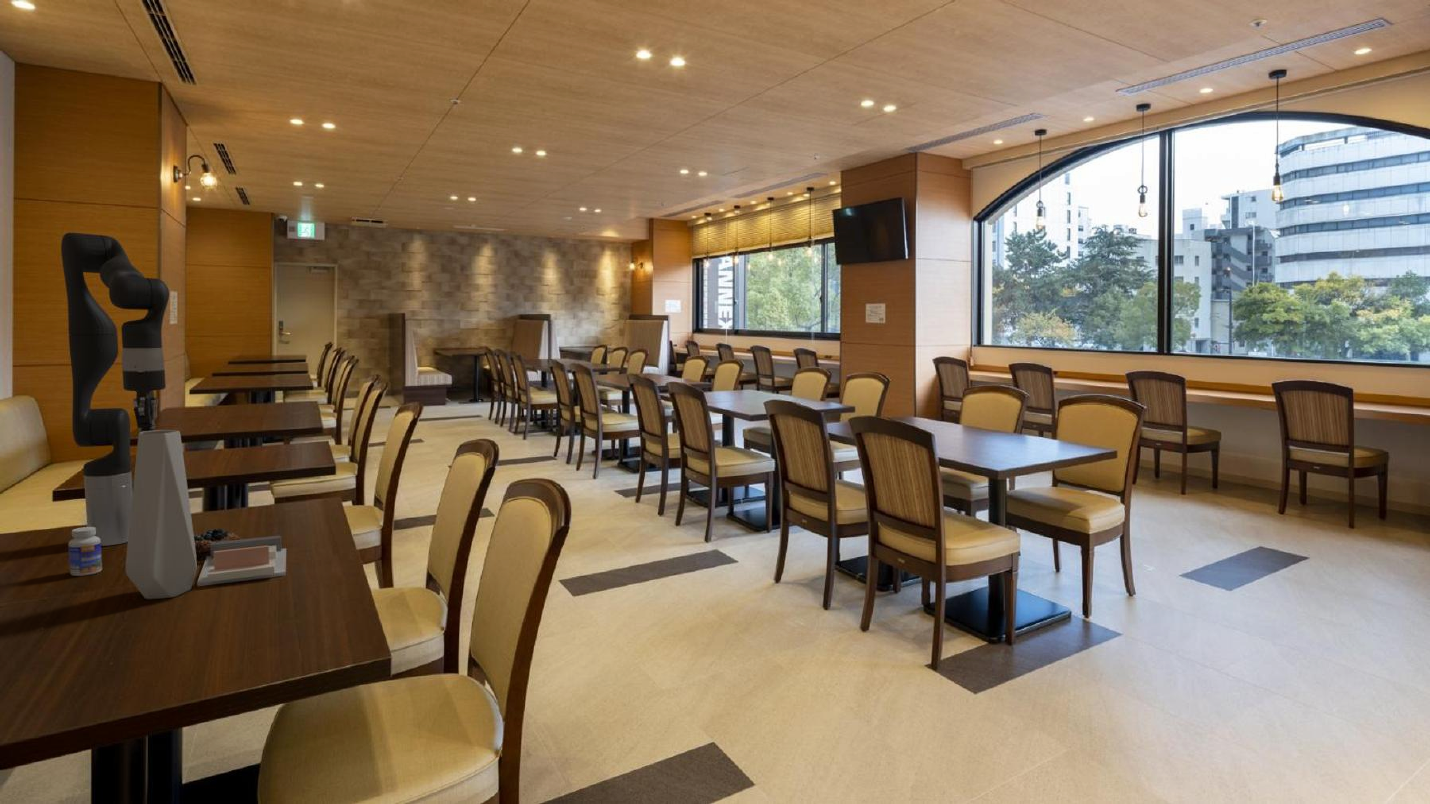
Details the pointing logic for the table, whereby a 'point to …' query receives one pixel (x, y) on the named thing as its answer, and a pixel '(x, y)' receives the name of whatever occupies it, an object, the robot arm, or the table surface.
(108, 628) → the table surface
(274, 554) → the white tray
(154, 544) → the vase
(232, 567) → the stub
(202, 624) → the table surface
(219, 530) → the pastry
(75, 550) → the pill bottle
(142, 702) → the table surface
